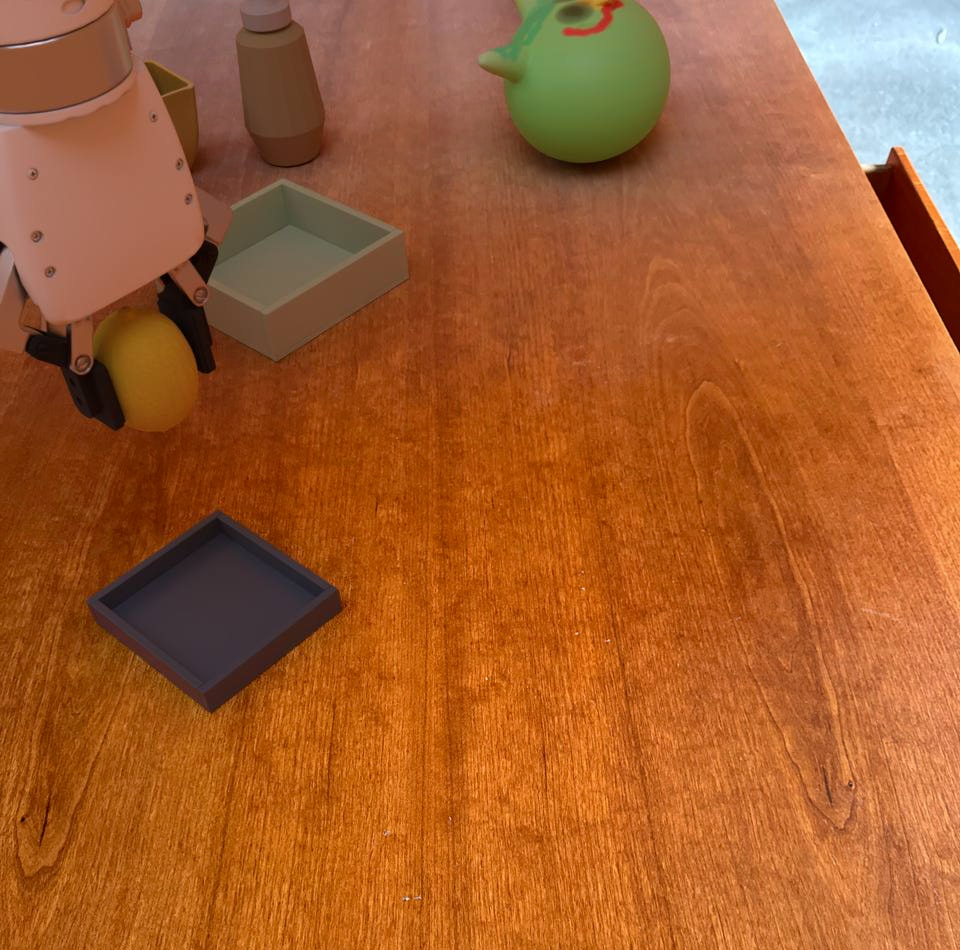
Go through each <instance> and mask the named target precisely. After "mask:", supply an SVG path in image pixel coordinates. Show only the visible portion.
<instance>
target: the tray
mask: <svg viewBox="0 0 960 950" xmlns="http://www.w3.org/2000/svg"><path fill="white" fill-rule="evenodd" d="M85 603H86V605H87V607H88V609H89V611H90V614H91V616H92V618H93V620H94V622H95V623H97V624H98V625H99V626H100V627H102V628H103V629H104V630H105V631H107V632H108V633H109V634H110V635H112V637H114V638H116V639H117V641H119V642H120V643H122V644H123V645H124V646H125V647H127V648H128V649H129V650H130V651H132V652H133V653H134V654H135V655H136V656H138V657H139V658H141V659H142V660H143V661H144V662H145V663H147V664H148V665H149V666H150V667H151V668H153V669H154V670H155V671H157V672H158V673H159V674H161V676H162V677H164V678H165V679H167V680H168V681H169V682H170V683H171V684H173V685H174V686H175V687H177V688H178V689H179V690H181V692H183V693H184V694H186V695H187V696H188V697H189V698H191V699H192V700H193V701H195V703H197V704H198V705H200V706H201V707H202V708H203V709H204V710H206V711H207V712H208V713H210V714H212V713H214V712H215V711H217V709H219V708H220V707H221V706H223V705H224V704H225V703H227V702H228V701H229V700H230V699H232V698H233V697H234V696H235V695H237V694H238V693H239V692H241V691H242V690H243V689H244V688H245V687H246V686H248V685H249V684H251V683H252V682H253V681H254V680H256V679H257V678H258V677H260V675H262V674H263V673H264V672H266V671H267V670H269V668H271V667H272V666H273V665H275V664H276V663H277V662H278V661H280V660H281V659H282V658H283V657H285V656H286V655H287V654H288V653H290V652H292V650H294V649H295V648H296V647H297V646H298V645H300V644H301V643H302V642H304V641H305V640H306V639H307V638H309V637H310V636H311V635H312V634H314V633H315V632H316V631H317V630H319V629H320V628H322V627H323V626H324V625H325V624H326V623H328V622H329V621H330V620H332V619H333V618H334V617H335V616H336V615H338V614H339V613H340V612H342V611H343V605H342V600H341V596H340V592H339V589H338V588H337V587H336V586H335V585H332V584H331V583H330V582H328V581H327V580H325V579H323V578H322V577H321V576H320V575H318V574H317V573H315V572H313V571H312V570H311V569H309V568H308V567H306V566H305V565H303V564H301V563H299V562H298V561H297V560H295V559H294V558H292V557H290V555H288V554H287V553H285V552H283V551H282V550H280V549H278V548H277V547H276V546H274V545H273V544H271V543H270V542H268V541H267V540H265V539H264V538H262V537H261V536H259V535H258V534H256V533H254V532H253V531H252V530H250V529H248V528H247V527H246V526H245V525H242V524H241V523H239V522H238V521H236V520H235V519H234V518H232V517H231V516H229V515H227V514H226V513H225V512H223V511H222V510H220V509H219V508H217V509H216V510H215V511H213V512H211V513H210V514H209V515H207V516H206V517H205V518H203V519H201V520H200V521H199V522H197V523H195V524H194V525H193V526H192V527H189V529H187V530H185V531H184V532H183V533H181V534H180V535H178V536H177V537H175V538H174V539H173V540H171V541H170V542H168V543H167V544H165V545H164V546H162V547H161V548H159V549H158V550H157V551H155V552H154V553H152V554H151V555H150V556H148V557H146V558H145V559H144V560H142V561H140V562H139V563H138V564H136V565H135V566H134V567H132V568H130V569H129V570H127V571H126V572H125V573H123V574H122V575H120V576H118V578H116V579H115V580H113V581H112V582H110V583H109V584H108V585H106V586H105V587H103V588H102V589H100V590H99V591H97V592H95V593H94V594H92V595H91V596H90V597H88V598H87V599H86V600H85Z"/></svg>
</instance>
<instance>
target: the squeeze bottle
mask: <svg viewBox="0 0 960 950" xmlns="http://www.w3.org/2000/svg"><path fill="white" fill-rule="evenodd" d="M239 13H240V18H241V23H242V27H241V28H240V29H239V30H238V31H237V33H236V34H235V46H236V56H237V64H238V75H239V83H240V93H241V100H242V101H241V102H242V110H243V121H244V127H245V129H246V131H247V132H248V134H249V136H250V137H251V139H252V141H253V142H254V145H255V147H256V148H257V150H258V152H259V154H260V155H261V157H262V159H263V160H264V161H265V162H266V163H268V164H271V165H272V166H278V167H291V166H298V165H302V164H304V163H309V161H311V160H313V159H315V158H316V157H317V156H318V155H319V154H320V152H321V148H322V147H321V146H322V140H323V134H324V128H325V127H324V126H325V121H326V109H325V106H324V102H323V98H322V95H321V91H320V87H319V83H318V79H317V75H316V71H315V67H314V63H313V59H312V55H311V51H310V48H309V45H308V41H307V36H306V33H305V28H304V26H302V25H301V24H299V22H297V21H296V20H294V19H293V17H292V10H291V4H290V0H244V1H243V2H242V3H241V4H240V5H239Z"/></svg>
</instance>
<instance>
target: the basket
mask: <svg viewBox="0 0 960 950" xmlns="http://www.w3.org/2000/svg"><path fill="white" fill-rule="evenodd" d="M229 207H230V208H231V209H232V211H233V218H232V221H231V223H230V225H229V227H228V230H227V232H226V234H225V236H224V238H223V241H222V243H221V245H220V244H219V245H218V247H217V248H218V251H219V253H218V258H217V261H216V263H215V266H214V268H213V271H212V273H211V276H210V278H209V280H208V283H207V286H208V288H209V291H210V296H209V299H208V301H207V303H206V304H204V305H203V307H204V311H205V314H206V318H207V322H208V326H209V327H212V328H214V329H216V330H217V331H220V332H221V333H223V334H225V335H227V336H229V337H231V338H232V339H234V340H236V341H238V342H240V343H241V344H243V345H245V346H247V347H249V348H250V349H252V350H253V351H256V352H257V353H259V354H261V355H263V356H264V357H266V358H268V359H270V360H272V361H274V362H275V363H277V362H279V361H280V360H282V359H284V358H285V357H287V356H288V355H290V354H292V353H293V352H295V351H297V350H298V349H299V348H301V347H303V346H304V345H306V344H308V343H309V342H311V341H312V340H314V339H315V338H317V337H318V336H320V335H322V334H323V333H325V332H326V331H328V330H330V329H331V328H333V327H335V326H336V325H338V324H339V323H340V322H342V321H344V320H345V319H347V318H348V317H350V316H352V315H354V313H357V312H358V311H360V310H361V309H363V308H364V307H366V306H368V305H369V304H370V303H372V302H374V301H375V300H376V299H378V298H380V297H382V296H383V295H385V294H387V293H388V292H389V291H391V290H393V289H394V288H396V287H398V286H399V285H400V284H402V283H403V282H405V281H407V280H408V279H410V273H409V265H408V263H409V262H408V255H407V254H408V253H407V247H406V239H405V238H406V236H405V230H402V229H401V228H398V227H396V226H394V225H392V224H389V223H387V222H384V221H383V220H380V219H378V218H375V217H374V216H371V215H368V214H367V213H364V212H362V211H359V210H357V209H356V208H353V207H350V206H348V205H346V204H343V203H341V202H339V201H337V200H334V199H332V198H329V197H327V196H325V195H323V194H321V193H318V192H316V191H314V190H312V189H310V188H307V187H305V186H303V185H299V183H296V182H293V181H291V180H288V179H286V178H284V177H282V178H280V179H278V180H276V181H274V182H273V183H271V184H269V185H267V186H265V187H263V188H262V189H259V190H258V191H256V192H254V193H252V194H250V195H248V196H246V197H244V198H243V199H241V200H239V201H237V202H235V203H234V204H232V205H230V206H229ZM153 281H154V283H155V285H156V286H155V287H156V290H157V293H160V292H162V291H163V290H164V288H163V287H162V285H161V284H160V283H159V281H158V280H157V279H154V280H153Z"/></svg>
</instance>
